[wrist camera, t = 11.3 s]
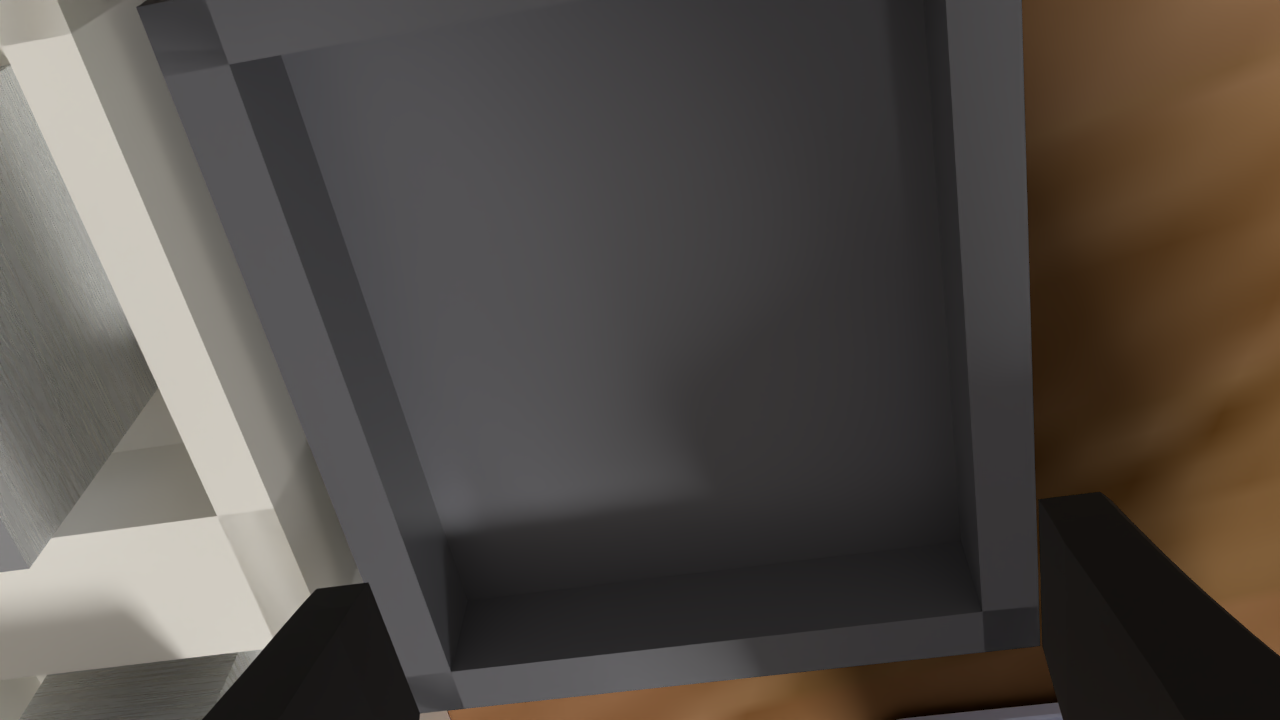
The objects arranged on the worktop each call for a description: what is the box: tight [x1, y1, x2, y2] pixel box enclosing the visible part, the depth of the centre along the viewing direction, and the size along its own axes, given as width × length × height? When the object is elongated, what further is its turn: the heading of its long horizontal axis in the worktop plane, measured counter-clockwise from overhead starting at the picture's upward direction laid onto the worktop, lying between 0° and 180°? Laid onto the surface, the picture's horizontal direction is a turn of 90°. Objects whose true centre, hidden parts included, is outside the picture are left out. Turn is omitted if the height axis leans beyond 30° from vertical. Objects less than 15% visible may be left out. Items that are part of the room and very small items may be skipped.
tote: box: [136, 0, 1040, 713], centre depth 21 cm, size 14×12×2 cm
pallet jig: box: [0, 0, 450, 720], centre depth 23 cm, size 21×9×4 cm, turn 11°
